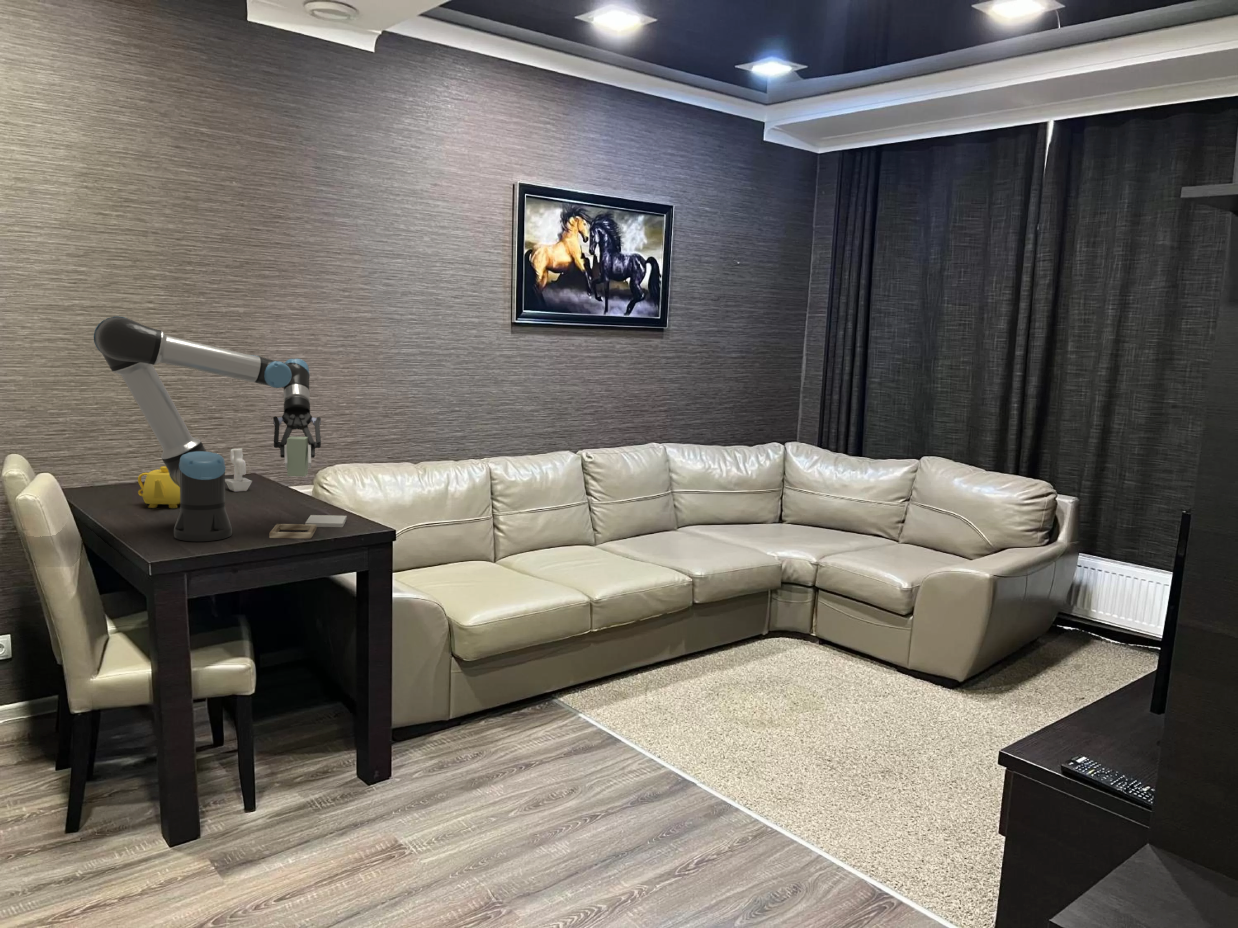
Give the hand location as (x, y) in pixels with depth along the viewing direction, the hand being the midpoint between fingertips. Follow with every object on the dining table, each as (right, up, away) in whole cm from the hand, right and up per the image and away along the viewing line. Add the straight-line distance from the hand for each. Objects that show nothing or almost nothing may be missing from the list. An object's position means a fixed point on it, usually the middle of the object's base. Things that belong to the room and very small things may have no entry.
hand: (297, 465), depth 263 cm
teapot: (-53, -13, +32) cm, 63 cm away
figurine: (-43, -9, +62) cm, 76 cm away
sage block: (-1, -3, +4) cm, 5 cm away
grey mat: (+2, -18, +21) cm, 27 cm away
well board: (-3, -20, +5) cm, 21 cm away
